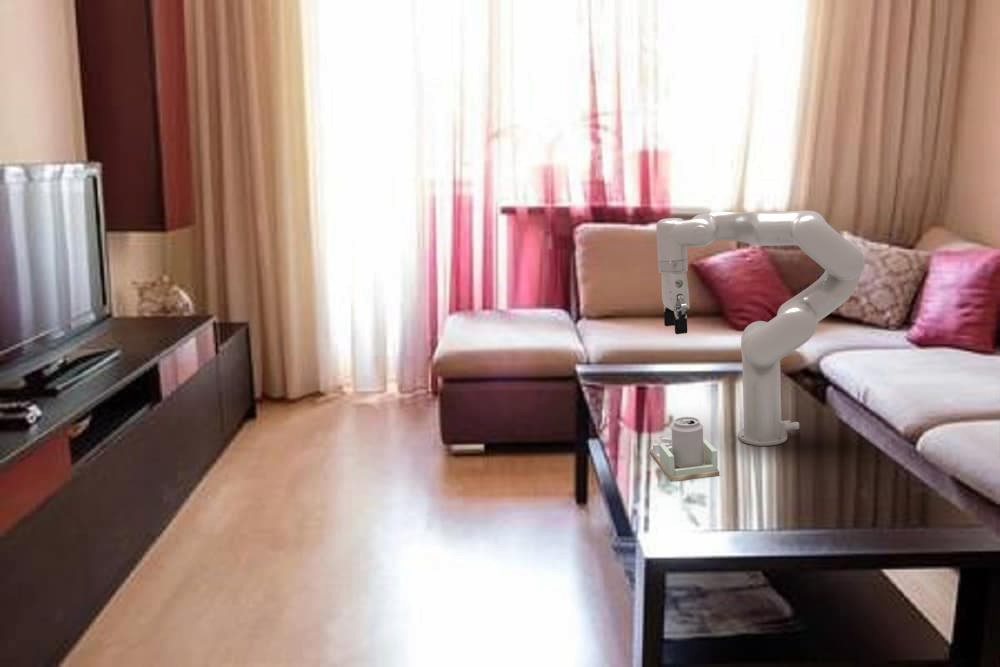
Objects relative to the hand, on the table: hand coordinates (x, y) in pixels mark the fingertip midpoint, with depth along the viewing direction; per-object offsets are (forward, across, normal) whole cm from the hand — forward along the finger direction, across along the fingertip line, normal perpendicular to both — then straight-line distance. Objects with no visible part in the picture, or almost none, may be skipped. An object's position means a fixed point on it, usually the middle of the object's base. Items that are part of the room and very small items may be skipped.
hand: (675, 329), depth 235 cm
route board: (+30, -19, +5) cm, 36 cm away
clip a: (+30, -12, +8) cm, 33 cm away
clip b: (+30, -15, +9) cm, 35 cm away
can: (+30, -23, +5) cm, 38 cm away
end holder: (+29, -23, +5) cm, 38 cm away
